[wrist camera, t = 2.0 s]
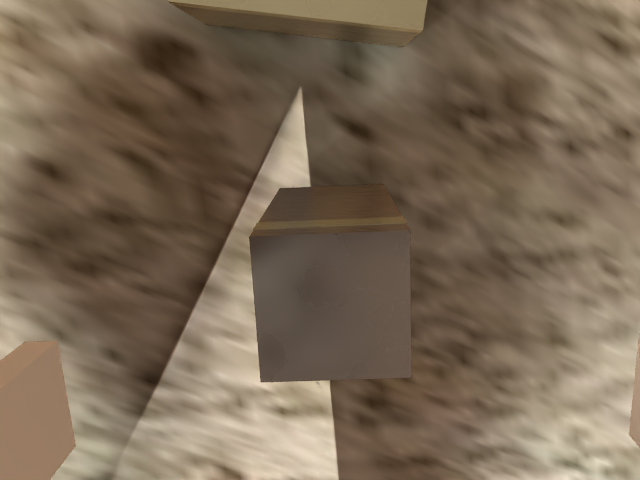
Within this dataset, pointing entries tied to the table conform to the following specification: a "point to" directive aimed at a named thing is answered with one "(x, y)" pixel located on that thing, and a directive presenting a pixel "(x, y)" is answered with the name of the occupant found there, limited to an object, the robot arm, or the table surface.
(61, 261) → the table surface
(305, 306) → the column
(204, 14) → the grey-green storage box
